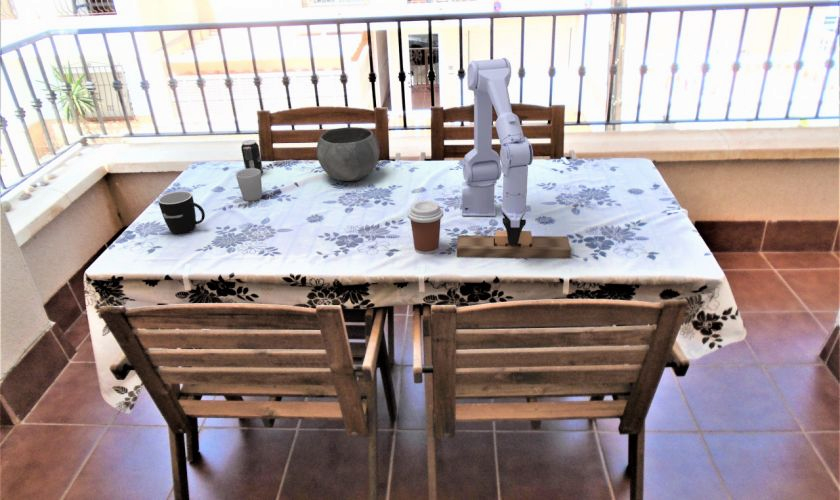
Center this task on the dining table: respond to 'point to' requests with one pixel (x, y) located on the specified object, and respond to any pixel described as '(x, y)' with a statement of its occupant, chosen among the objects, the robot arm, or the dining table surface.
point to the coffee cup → (425, 226)
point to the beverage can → (251, 155)
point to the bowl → (348, 153)
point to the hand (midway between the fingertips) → (512, 240)
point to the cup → (250, 183)
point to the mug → (180, 211)
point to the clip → (523, 241)
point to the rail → (513, 247)
